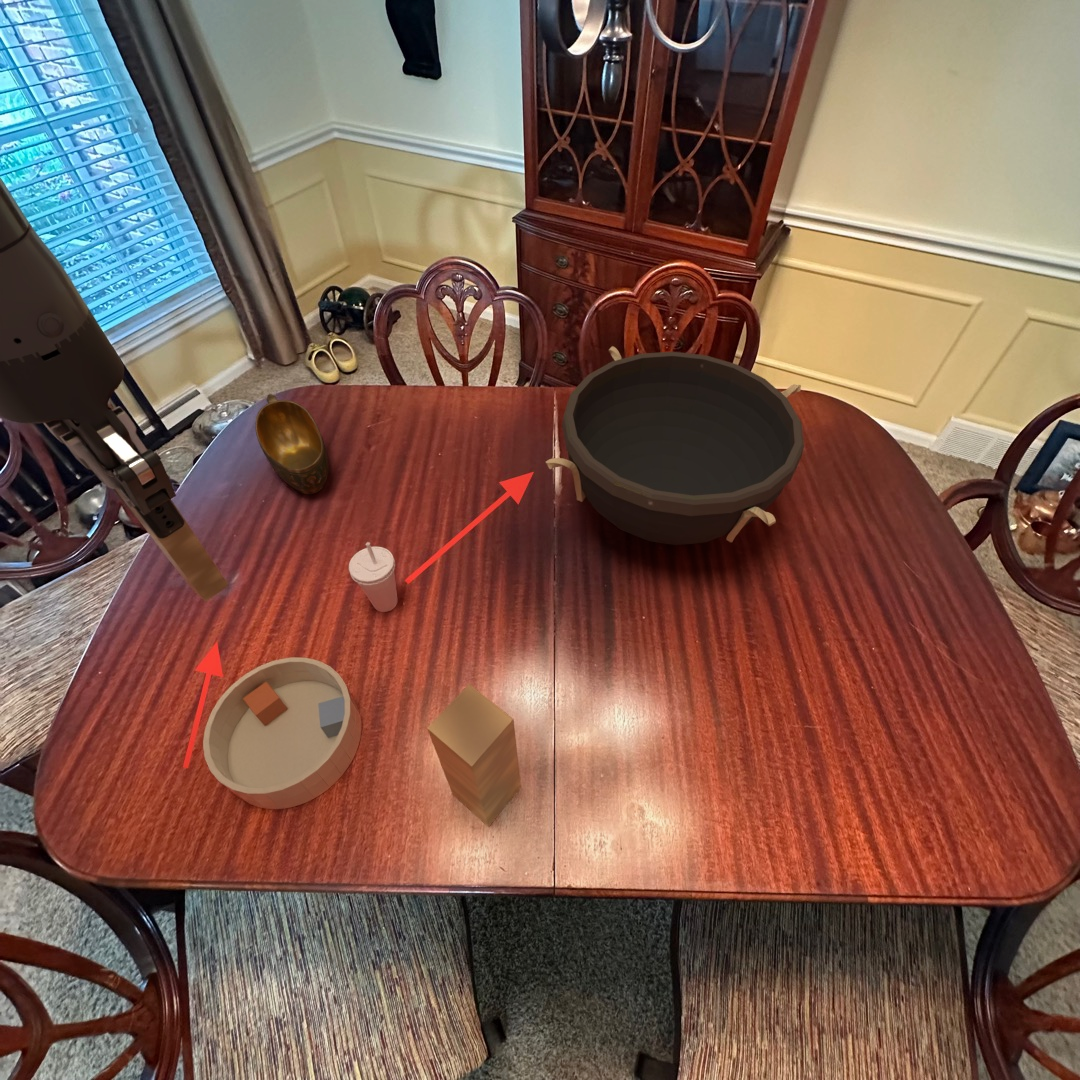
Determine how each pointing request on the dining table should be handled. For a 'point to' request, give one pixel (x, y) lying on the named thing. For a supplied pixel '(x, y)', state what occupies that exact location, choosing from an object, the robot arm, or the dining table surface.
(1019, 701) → the dining table surface
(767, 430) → the bowl
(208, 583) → the wooden square bar
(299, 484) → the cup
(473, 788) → the oak stand
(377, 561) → the smoothie
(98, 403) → the robot arm
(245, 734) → the round beige tray
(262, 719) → the terracotta block
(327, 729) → the bluegrey block
